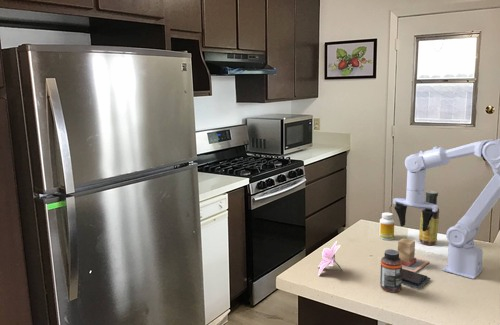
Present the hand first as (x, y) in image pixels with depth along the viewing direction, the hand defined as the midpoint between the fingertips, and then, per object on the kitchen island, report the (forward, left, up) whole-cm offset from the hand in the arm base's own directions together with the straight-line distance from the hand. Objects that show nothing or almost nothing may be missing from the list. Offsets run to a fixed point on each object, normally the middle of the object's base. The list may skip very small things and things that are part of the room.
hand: (413, 228), depth 148 cm
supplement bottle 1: (+15, -11, -11) cm, 22 cm away
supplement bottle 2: (-5, +26, -11) cm, 29 cm away
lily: (+15, +28, -11) cm, 34 cm away
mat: (-1, +7, -10) cm, 12 cm away
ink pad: (-7, +18, -10) cm, 22 cm away
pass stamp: (-1, +7, -10) cm, 12 cm away
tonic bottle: (+1, -16, -11) cm, 20 cm away
